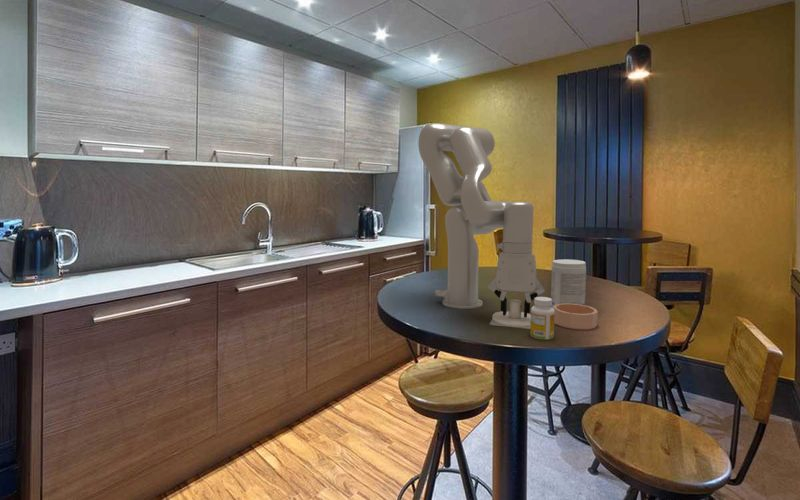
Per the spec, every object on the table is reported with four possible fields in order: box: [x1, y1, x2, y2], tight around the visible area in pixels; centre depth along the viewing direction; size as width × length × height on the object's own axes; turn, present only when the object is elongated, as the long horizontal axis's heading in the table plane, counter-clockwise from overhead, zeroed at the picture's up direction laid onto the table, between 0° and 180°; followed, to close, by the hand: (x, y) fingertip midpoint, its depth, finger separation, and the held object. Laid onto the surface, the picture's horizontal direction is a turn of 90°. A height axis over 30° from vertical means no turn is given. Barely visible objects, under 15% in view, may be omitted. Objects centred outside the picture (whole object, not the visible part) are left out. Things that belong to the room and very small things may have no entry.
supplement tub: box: [550, 258, 587, 308], centre depth 119 cm, size 10×10×15 cm
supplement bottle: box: [529, 296, 555, 340], centre depth 94 cm, size 5×5×10 cm
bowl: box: [552, 303, 599, 330], centre depth 104 cm, size 11×11×4 cm
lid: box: [491, 299, 531, 328], centre depth 106 cm, size 12×12×5 cm
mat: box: [489, 311, 530, 330], centre depth 107 cm, size 12×12×1 cm
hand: (515, 314), depth 106 cm, fingers open, 4 cm apart
